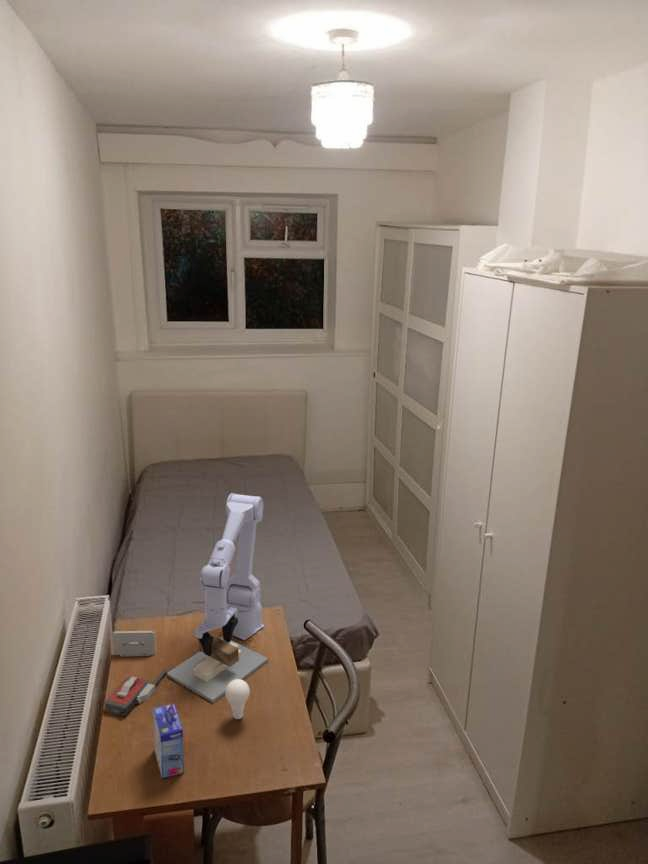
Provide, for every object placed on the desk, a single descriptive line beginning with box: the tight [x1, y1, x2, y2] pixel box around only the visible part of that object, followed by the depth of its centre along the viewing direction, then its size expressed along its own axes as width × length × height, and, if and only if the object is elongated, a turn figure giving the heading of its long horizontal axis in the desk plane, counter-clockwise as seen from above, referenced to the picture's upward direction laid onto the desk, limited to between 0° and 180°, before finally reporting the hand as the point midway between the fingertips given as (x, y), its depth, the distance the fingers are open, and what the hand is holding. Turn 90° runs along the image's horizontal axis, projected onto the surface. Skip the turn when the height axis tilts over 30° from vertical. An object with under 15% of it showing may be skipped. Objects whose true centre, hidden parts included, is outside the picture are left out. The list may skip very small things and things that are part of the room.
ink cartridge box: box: [152, 703, 185, 779], centre depth 152 cm, size 10×6×14 cm, turn 24°
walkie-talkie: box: [104, 667, 168, 718], centre depth 176 cm, size 9×4×20 cm
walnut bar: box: [198, 633, 239, 667], centre depth 185 cm, size 12×4×4 cm, turn 54°
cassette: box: [111, 630, 157, 657], centre depth 191 cm, size 12×2×8 cm, turn 93°
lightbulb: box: [224, 679, 251, 720], centre depth 167 cm, size 6×6×11 cm
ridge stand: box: [166, 635, 269, 704], centre depth 186 cm, size 22×18×4 cm
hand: (217, 647), depth 185 cm, fingers open, 7 cm apart
